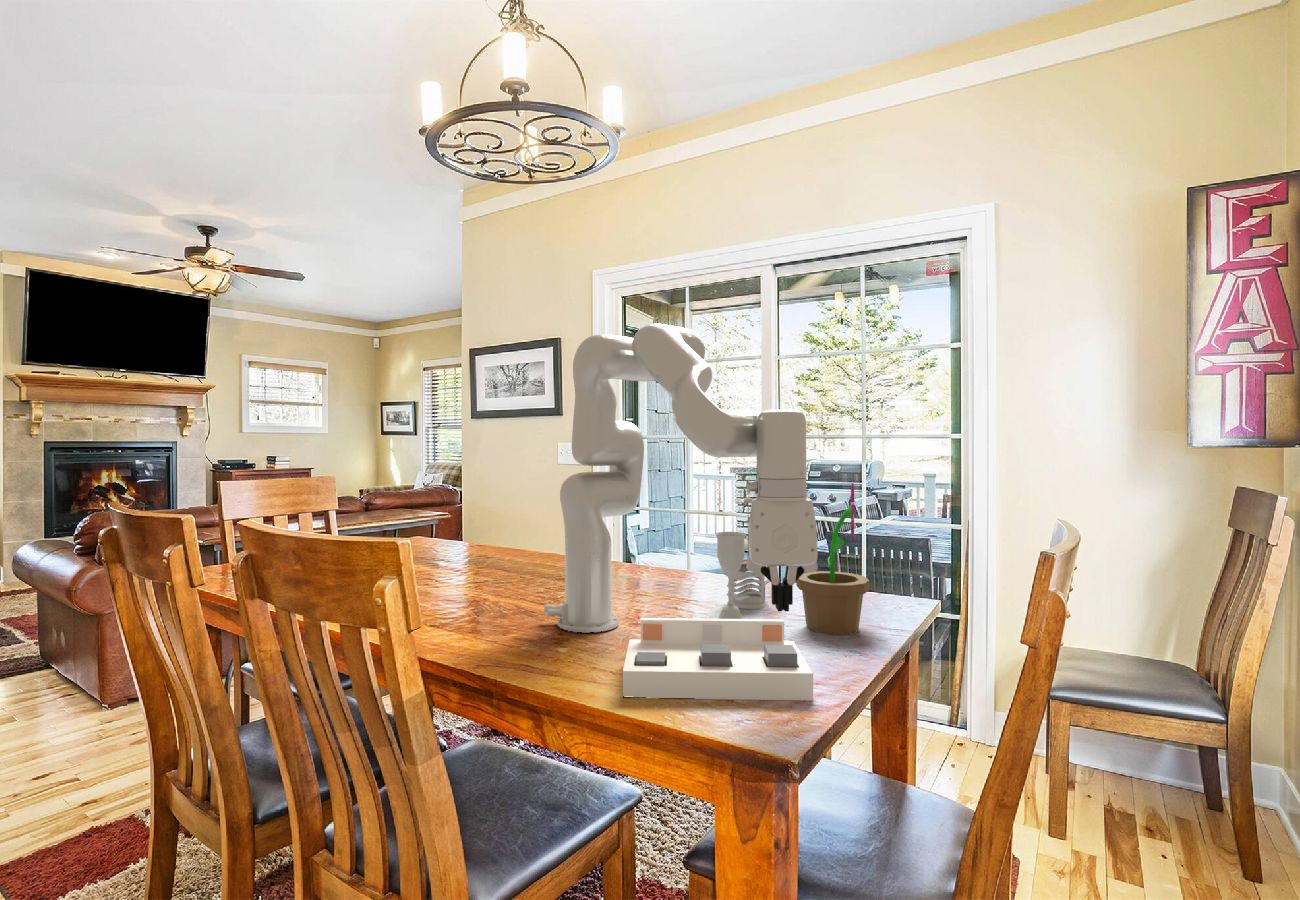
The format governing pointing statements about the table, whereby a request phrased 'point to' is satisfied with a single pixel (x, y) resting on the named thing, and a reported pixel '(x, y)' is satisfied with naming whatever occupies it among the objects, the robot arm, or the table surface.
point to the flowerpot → (834, 591)
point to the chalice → (730, 566)
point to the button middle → (715, 655)
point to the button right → (780, 656)
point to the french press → (749, 596)
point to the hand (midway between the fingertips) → (782, 609)
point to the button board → (704, 682)
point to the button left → (650, 659)
